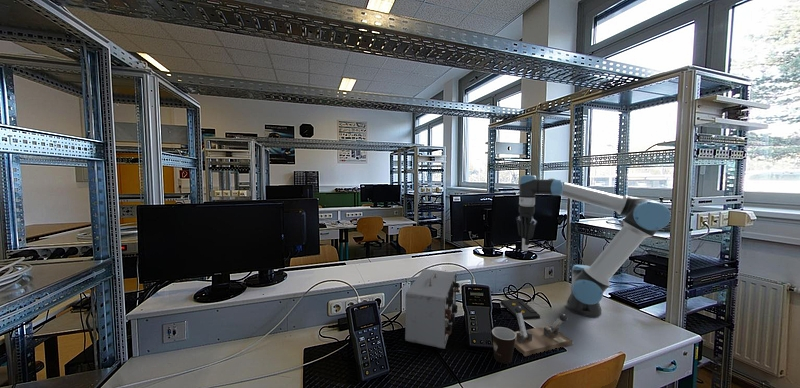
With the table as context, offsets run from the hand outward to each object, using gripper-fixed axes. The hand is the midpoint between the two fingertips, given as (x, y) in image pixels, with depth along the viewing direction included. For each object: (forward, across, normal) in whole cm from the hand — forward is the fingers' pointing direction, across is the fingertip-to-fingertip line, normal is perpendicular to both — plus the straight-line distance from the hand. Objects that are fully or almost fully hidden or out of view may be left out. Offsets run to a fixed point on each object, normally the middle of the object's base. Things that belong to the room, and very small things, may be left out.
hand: (524, 250), depth 147 cm
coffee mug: (+31, +30, -36) cm, 56 cm away
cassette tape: (+31, +2, -4) cm, 32 cm away
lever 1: (+26, +27, -23) cm, 44 cm away
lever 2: (+26, +27, -9) cm, 39 cm away
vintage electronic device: (+31, +5, -53) cm, 61 cm away
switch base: (+30, +27, -16) cm, 44 cm away
